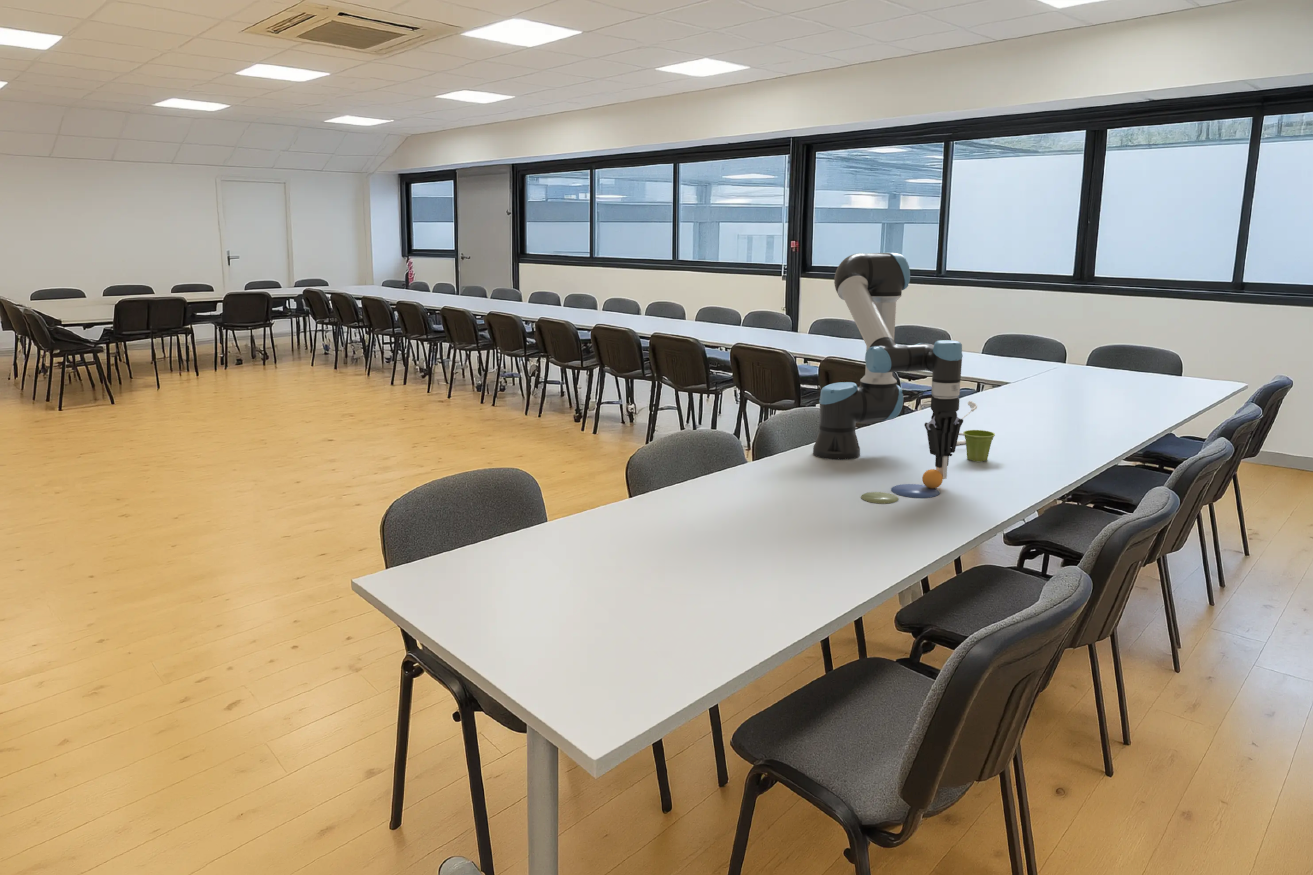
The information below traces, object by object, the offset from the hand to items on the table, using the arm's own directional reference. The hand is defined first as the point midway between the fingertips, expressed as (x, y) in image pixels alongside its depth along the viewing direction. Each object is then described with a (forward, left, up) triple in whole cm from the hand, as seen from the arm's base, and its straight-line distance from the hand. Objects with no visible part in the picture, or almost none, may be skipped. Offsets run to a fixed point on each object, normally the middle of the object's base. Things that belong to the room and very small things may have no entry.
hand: (941, 477), depth 243 cm
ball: (0, -3, 0) cm, 3 cm away
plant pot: (-16, +32, -3) cm, 36 cm away
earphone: (-39, +46, -3) cm, 61 cm away
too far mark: (0, -23, -3) cm, 23 cm away
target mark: (0, -10, -3) cm, 10 cm away
